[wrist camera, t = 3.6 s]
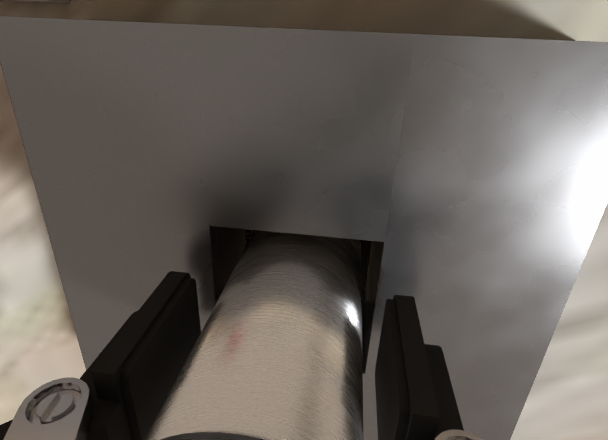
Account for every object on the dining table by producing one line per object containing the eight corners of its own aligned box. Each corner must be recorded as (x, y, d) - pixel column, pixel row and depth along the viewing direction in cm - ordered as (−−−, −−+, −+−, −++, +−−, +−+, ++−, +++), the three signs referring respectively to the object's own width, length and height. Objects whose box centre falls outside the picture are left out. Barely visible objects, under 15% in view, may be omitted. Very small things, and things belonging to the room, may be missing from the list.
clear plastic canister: (251, 188, 15) (64, 463, 6) (369, 198, 15) (391, 514, 5) (253, 284, 17) (118, 612, 8) (357, 295, 17) (356, 657, 7)
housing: (86, 20, 13) (-13, 15, 10) (577, 41, 12) (672, 44, 8) (148, 363, 20) (104, 433, 17) (463, 404, 19) (488, 491, 15)
